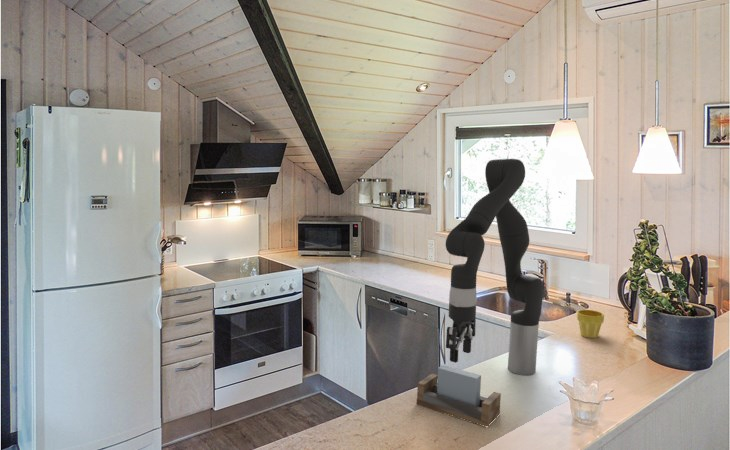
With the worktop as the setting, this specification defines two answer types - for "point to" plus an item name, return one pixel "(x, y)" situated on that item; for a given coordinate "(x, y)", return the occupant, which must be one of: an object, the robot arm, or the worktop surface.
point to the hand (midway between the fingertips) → (460, 356)
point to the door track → (486, 404)
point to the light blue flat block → (459, 385)
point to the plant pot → (590, 322)
